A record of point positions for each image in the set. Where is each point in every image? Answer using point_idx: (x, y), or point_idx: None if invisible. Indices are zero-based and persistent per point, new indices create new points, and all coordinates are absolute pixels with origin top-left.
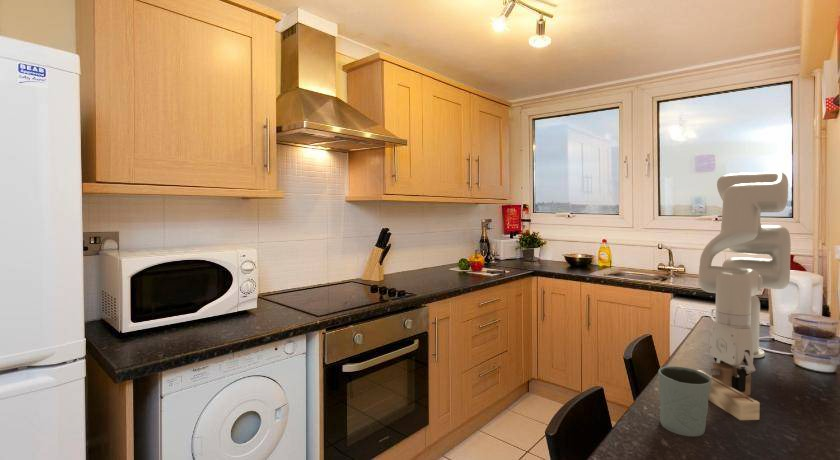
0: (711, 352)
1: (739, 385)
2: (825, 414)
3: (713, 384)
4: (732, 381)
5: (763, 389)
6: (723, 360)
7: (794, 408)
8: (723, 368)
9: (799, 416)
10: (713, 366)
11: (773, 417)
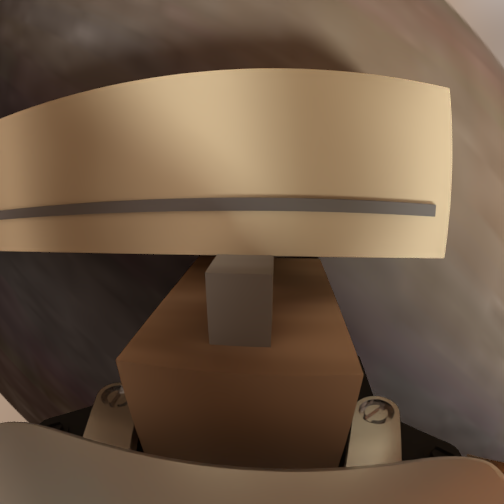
0: (466, 485)
1: None
2: None
3: (83, 134)
4: None
5: None
6: (165, 469)
7: None
8: (136, 364)
9: (39, 390)
10: (331, 349)
11: (8, 301)
